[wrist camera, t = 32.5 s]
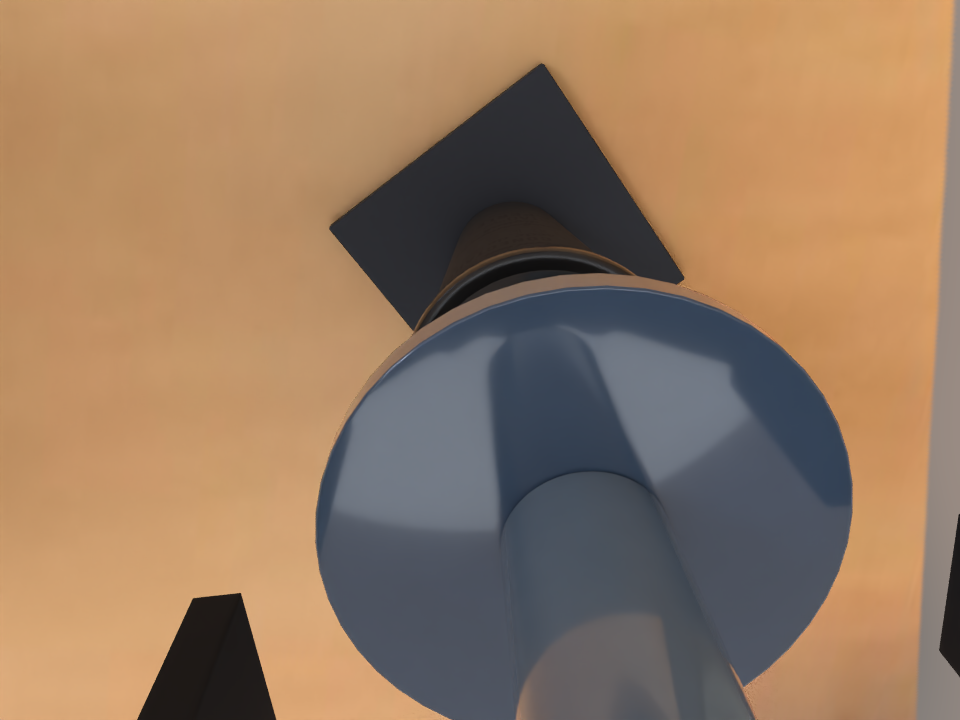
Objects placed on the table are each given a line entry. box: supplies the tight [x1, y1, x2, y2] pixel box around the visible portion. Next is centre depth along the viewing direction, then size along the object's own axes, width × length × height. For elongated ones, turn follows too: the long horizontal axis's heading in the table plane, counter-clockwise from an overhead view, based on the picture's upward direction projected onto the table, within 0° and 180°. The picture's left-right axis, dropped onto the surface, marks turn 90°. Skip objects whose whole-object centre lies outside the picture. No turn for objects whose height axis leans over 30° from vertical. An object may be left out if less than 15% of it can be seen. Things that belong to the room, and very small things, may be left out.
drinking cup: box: [412, 201, 636, 336], centre depth 25 cm, size 8×8×20 cm
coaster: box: [329, 63, 684, 331], centre depth 34 cm, size 11×11×1 cm
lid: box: [315, 273, 853, 720], centre depth 12 cm, size 10×10×8 cm
